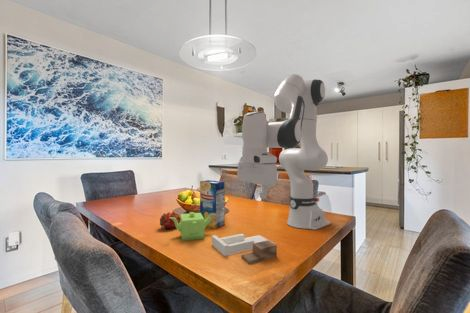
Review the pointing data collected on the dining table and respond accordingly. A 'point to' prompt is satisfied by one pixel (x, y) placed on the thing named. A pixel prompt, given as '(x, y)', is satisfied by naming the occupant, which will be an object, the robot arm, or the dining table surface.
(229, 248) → the shallow white tray
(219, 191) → the beverage box
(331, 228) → the dining table surface
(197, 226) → the kettle
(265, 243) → the block
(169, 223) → the dark red lumpy cluster
